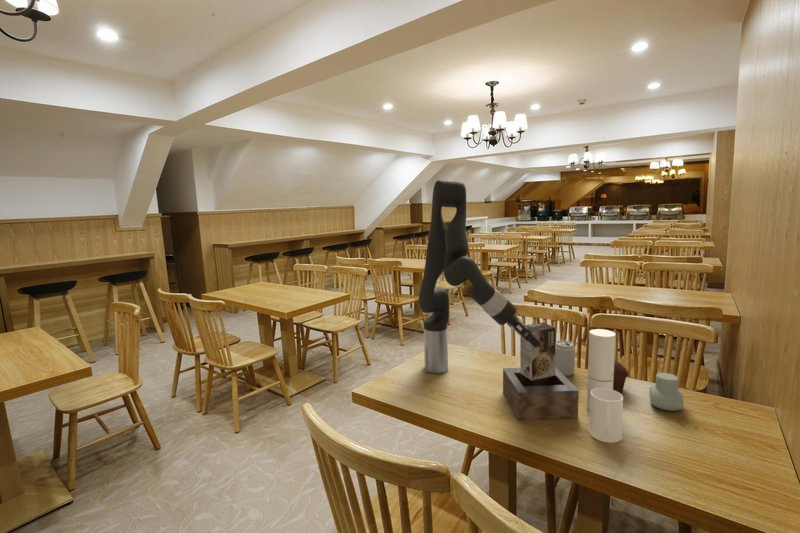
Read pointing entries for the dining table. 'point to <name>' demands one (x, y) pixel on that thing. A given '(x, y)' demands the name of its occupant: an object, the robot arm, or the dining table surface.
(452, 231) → the robot arm
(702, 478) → the dining table surface
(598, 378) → the cylindrical container
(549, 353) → the coffee box
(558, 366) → the can
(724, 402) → the dining table surface
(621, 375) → the muffin
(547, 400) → the drop box
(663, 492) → the dining table surface
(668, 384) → the air freshener
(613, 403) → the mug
